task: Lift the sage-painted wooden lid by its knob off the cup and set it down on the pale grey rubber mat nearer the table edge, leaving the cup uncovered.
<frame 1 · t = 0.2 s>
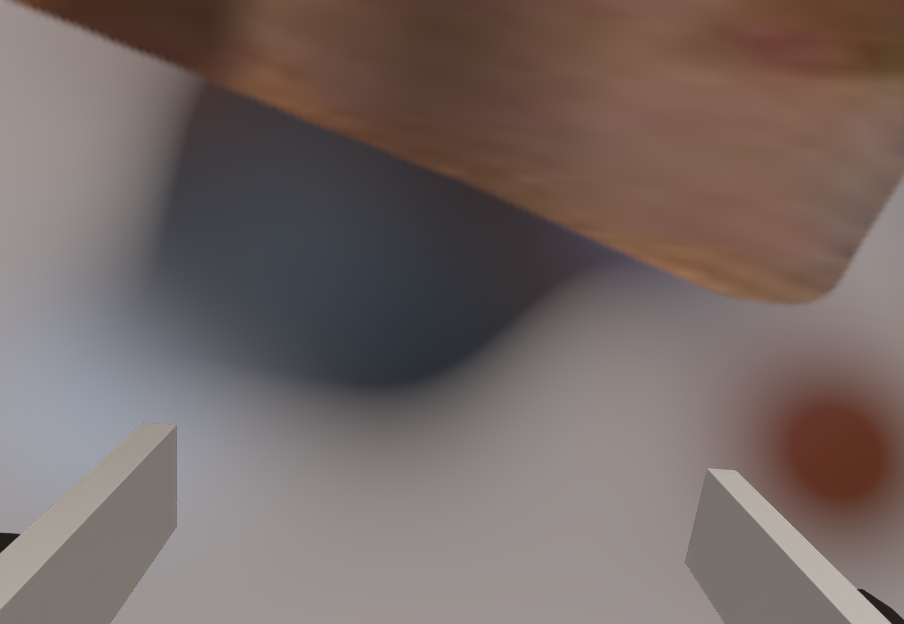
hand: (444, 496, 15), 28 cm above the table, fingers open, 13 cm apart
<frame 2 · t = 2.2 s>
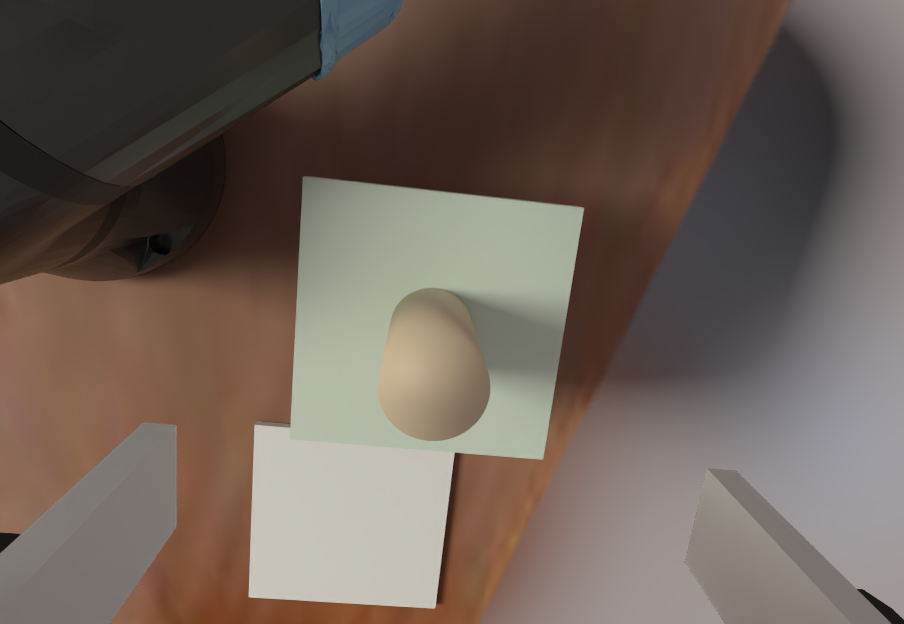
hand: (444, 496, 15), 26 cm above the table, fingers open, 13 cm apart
mat: (350, 516, 43), on the table
lid: (431, 321, 30), point 10 cm above the table, touching cup
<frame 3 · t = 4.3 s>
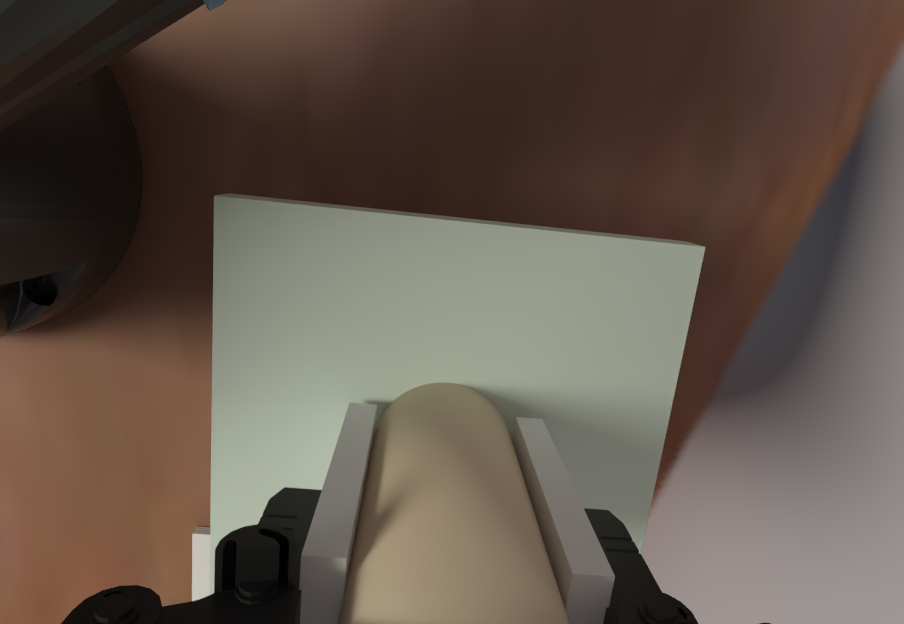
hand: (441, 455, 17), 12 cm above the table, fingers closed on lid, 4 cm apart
lid: (440, 429, 18), point 10 cm above the table, touching gripper
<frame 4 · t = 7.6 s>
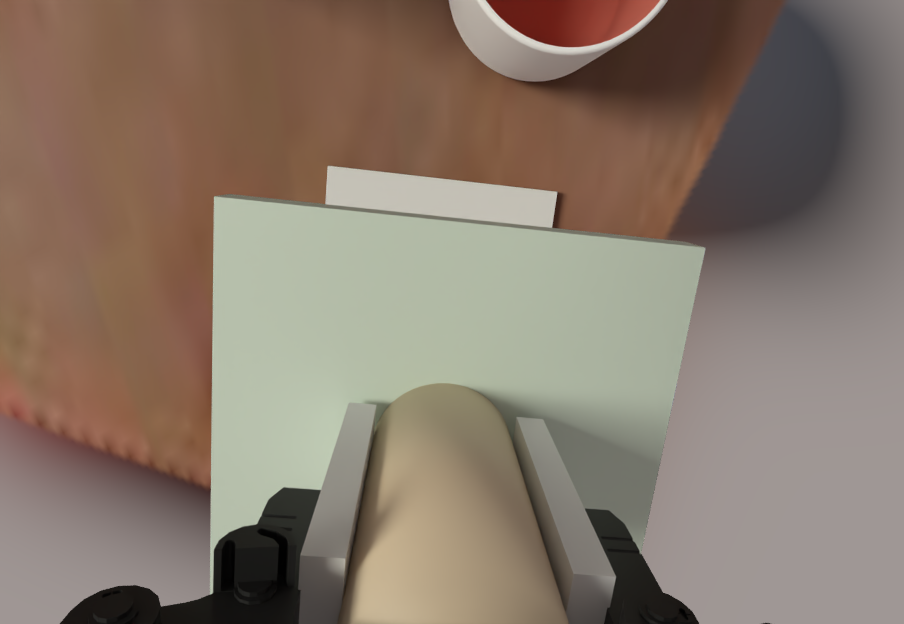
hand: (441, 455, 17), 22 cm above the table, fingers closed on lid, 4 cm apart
mat: (432, 289, 38), on the table
lid: (440, 430, 18), point 20 cm above the table, touching gripper
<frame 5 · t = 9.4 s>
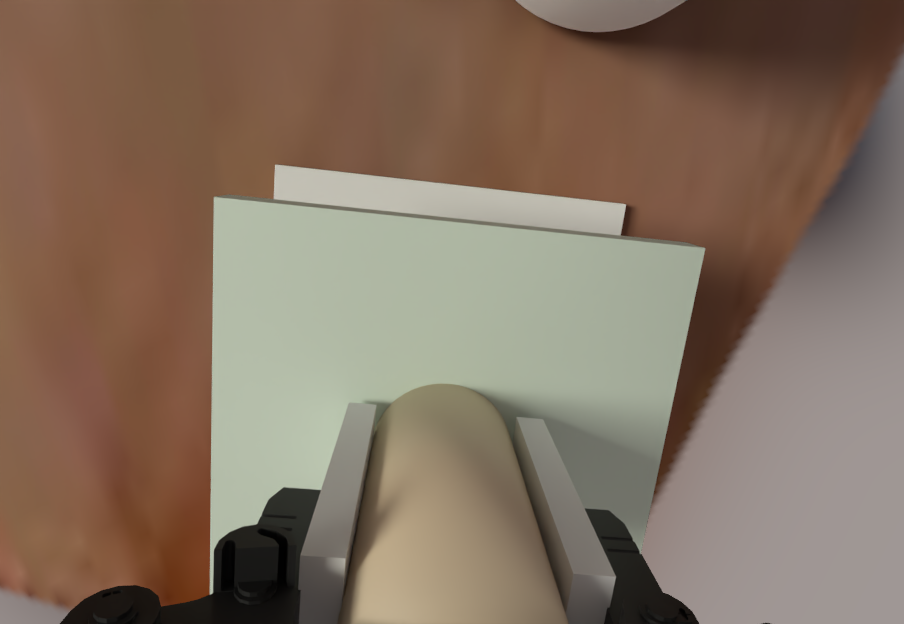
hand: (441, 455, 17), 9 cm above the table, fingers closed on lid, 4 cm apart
mat: (435, 348, 26), on the table
lid: (440, 430, 18), point 8 cm above the table, touching gripper
when the fingers open (4 cm above the table, at t = 11.0 s): lid drops 1 cm, resting on mat.
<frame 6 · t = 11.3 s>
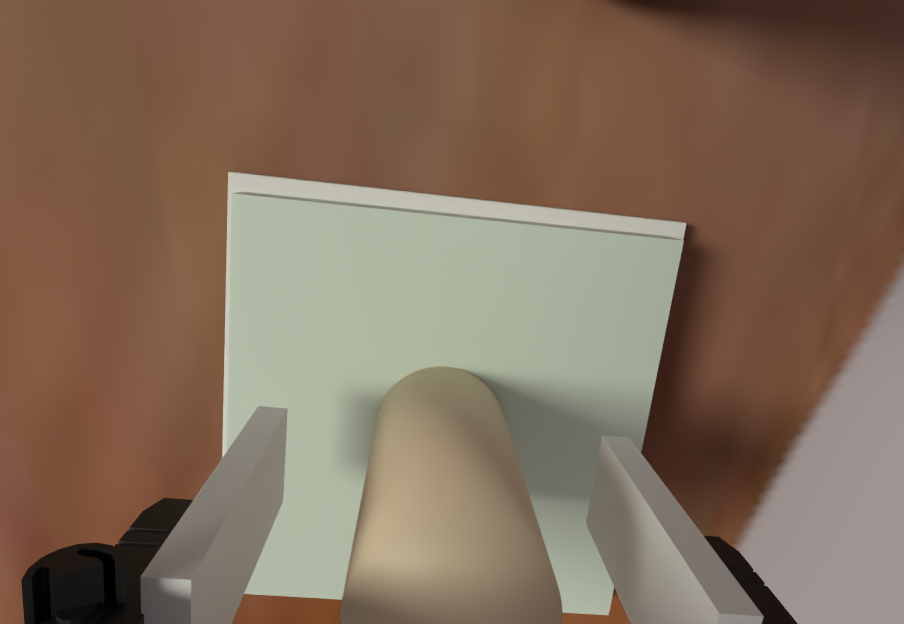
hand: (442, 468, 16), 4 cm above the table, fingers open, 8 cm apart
mat: (438, 404, 20), on the table
lid: (439, 411, 19), point 1 cm above the table, touching mat
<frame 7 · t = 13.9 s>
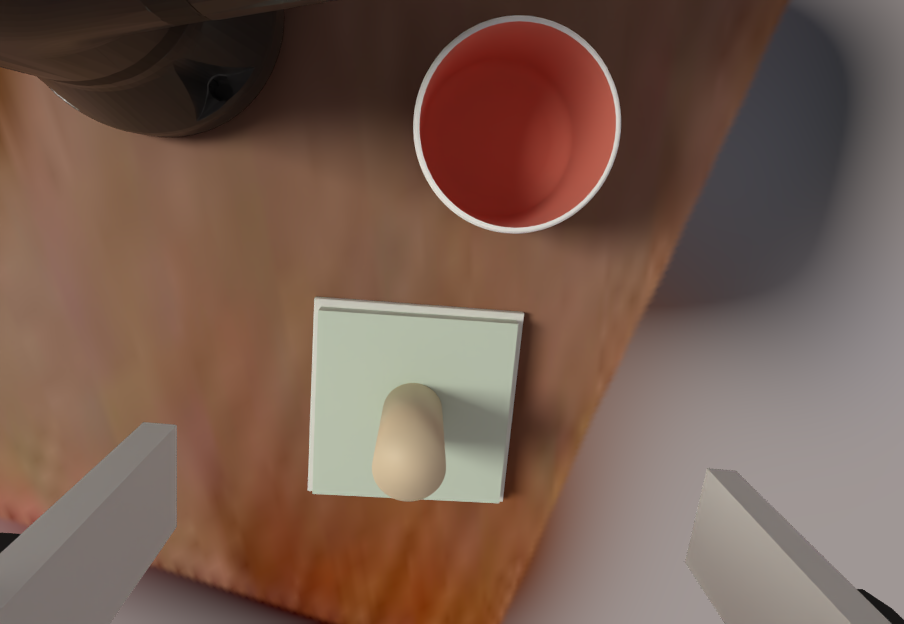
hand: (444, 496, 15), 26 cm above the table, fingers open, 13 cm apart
mat: (413, 401, 41), on the table
lid: (413, 404, 41), point 1 cm above the table, touching mat
cup: (494, 141, 38), on the table
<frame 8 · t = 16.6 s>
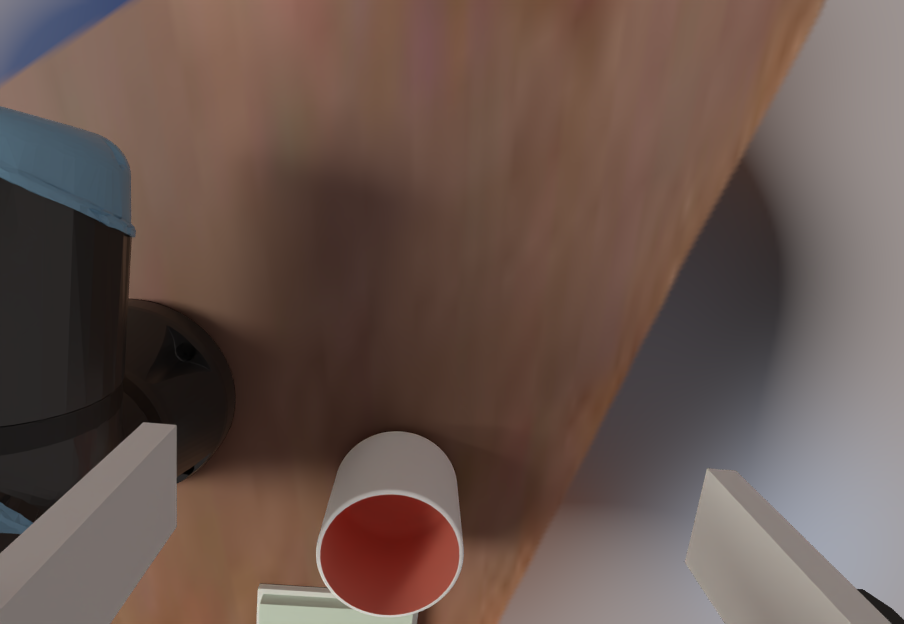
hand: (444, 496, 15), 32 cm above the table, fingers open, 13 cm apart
cup: (397, 478, 50), on the table
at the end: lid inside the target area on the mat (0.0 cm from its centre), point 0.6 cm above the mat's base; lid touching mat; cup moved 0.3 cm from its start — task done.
